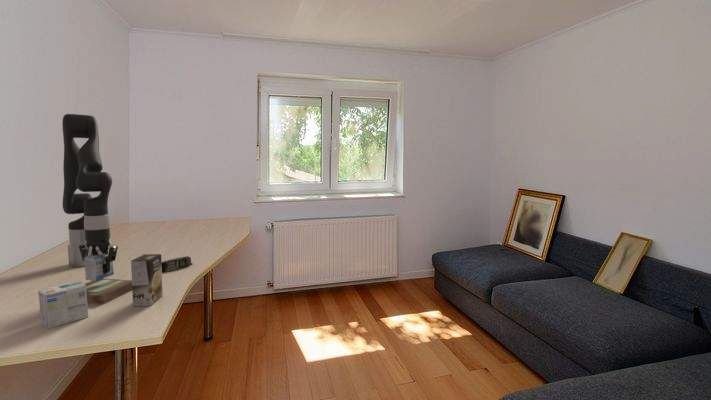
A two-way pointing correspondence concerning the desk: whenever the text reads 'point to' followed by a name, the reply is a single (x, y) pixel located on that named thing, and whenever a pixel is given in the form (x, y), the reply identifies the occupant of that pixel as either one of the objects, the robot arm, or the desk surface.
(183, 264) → the dark remote control
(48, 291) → the light bulb box
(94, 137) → the robot arm
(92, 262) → the medicine box
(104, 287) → the walnut plinth
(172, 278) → the desk surface
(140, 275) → the coffee box
